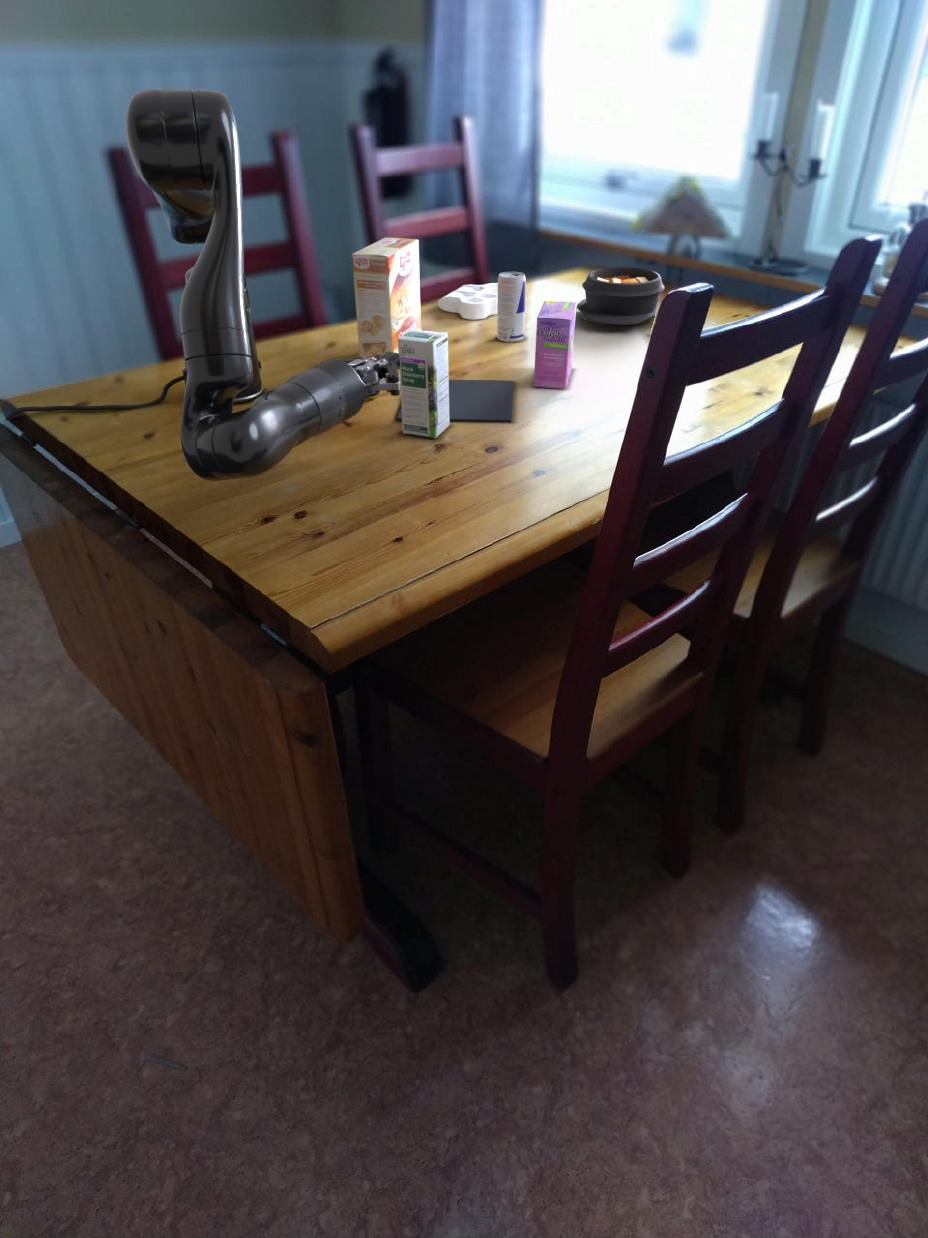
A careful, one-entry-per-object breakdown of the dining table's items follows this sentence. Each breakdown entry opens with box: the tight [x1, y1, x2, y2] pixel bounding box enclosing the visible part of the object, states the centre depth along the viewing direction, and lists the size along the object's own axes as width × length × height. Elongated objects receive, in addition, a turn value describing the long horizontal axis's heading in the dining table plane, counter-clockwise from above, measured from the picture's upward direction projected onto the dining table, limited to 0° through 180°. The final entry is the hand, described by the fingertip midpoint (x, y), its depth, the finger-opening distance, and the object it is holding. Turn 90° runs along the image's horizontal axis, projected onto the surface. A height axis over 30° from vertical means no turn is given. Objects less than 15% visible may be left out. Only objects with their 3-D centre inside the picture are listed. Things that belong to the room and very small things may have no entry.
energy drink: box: [496, 271, 527, 343], centre depth 165 cm, size 5×5×12 cm
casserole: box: [576, 266, 666, 326], centre depth 177 cm, size 25×19×8 cm
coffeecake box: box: [351, 236, 422, 360], centre depth 154 cm, size 15×7×20 cm, turn 162°
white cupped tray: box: [437, 282, 498, 321], centre depth 186 cm, size 3×18×15 cm
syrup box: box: [398, 329, 450, 439], centre depth 126 cm, size 6×6×14 cm
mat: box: [396, 379, 514, 423], centre depth 140 cm, size 18×18×1 cm
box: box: [533, 300, 578, 390], centre depth 146 cm, size 10×6×12 cm, turn 168°
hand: (395, 359), depth 118 cm, fingers closed
